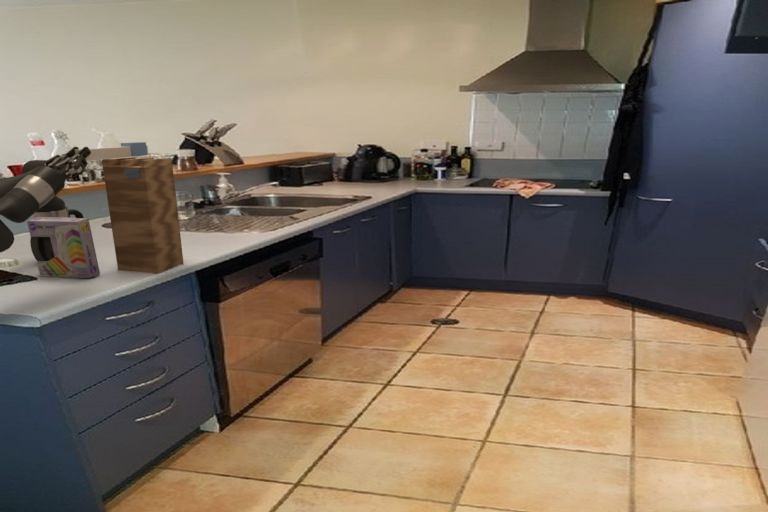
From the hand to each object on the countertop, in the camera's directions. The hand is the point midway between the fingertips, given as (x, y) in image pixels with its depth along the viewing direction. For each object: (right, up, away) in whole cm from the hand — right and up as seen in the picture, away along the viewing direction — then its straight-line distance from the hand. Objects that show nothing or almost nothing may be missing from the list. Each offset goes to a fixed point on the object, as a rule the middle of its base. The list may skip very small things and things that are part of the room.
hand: (83, 149), depth 138 cm
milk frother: (-40, -25, +53) cm, 71 cm away
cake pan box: (-13, -35, +14) cm, 40 cm away
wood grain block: (+8, -33, +23) cm, 41 cm away
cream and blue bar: (+3, 0, +10) cm, 11 cm away
